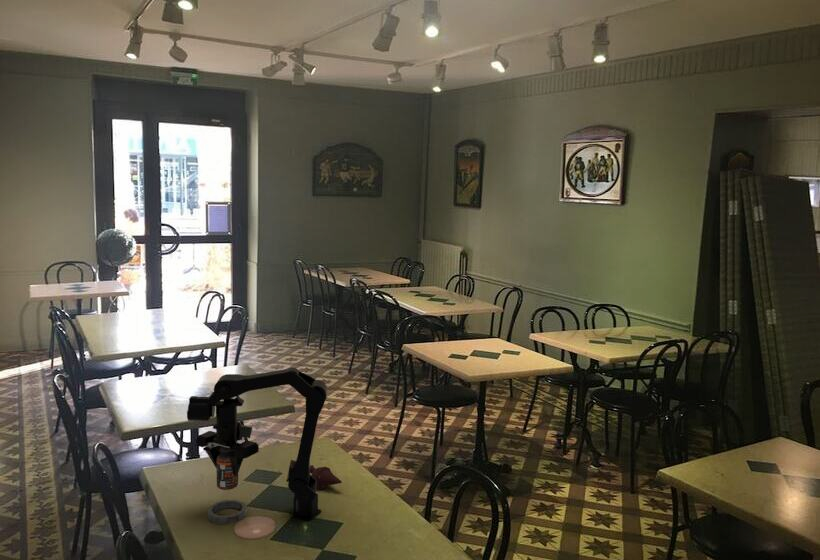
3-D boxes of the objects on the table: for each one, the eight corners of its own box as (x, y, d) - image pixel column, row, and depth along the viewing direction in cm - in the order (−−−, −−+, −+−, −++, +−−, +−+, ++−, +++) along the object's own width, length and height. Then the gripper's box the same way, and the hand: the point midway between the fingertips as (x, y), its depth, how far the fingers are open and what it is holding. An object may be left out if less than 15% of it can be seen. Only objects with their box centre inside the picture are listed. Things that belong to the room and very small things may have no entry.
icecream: (350, 469, 207) (314, 461, 216) (335, 471, 201) (299, 463, 210) (347, 492, 206) (312, 483, 215) (332, 494, 200) (296, 485, 209)
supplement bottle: (225, 492, 184) (224, 454, 182) (212, 486, 188) (211, 448, 186) (242, 485, 189) (242, 447, 187) (229, 479, 192) (229, 442, 191)
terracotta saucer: (283, 525, 184) (283, 522, 184) (256, 543, 175) (256, 540, 175) (253, 515, 190) (253, 512, 189) (225, 532, 180) (225, 529, 180)
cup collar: (253, 511, 192) (253, 505, 191) (228, 527, 182) (228, 520, 182) (226, 503, 196) (226, 496, 196) (200, 518, 187) (200, 511, 187)
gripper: (271, 417, 188) (271, 469, 190) (222, 406, 197) (223, 456, 199) (244, 429, 178) (245, 484, 181) (194, 417, 187) (195, 469, 189)
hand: (227, 472), depth 188 cm, fingers closed on supplement bottle, 6 cm apart
